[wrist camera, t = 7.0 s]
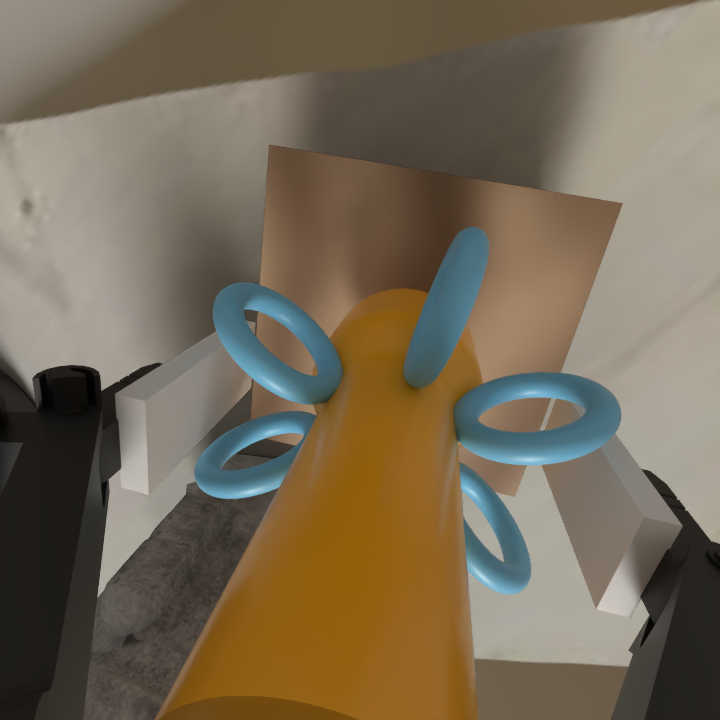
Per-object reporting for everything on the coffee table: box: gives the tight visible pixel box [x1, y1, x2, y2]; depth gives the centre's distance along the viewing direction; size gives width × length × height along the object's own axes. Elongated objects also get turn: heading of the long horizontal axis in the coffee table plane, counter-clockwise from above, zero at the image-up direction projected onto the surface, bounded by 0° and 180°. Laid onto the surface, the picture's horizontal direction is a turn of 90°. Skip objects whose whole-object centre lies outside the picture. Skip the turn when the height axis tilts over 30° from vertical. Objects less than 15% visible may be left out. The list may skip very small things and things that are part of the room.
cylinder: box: [154, 227, 621, 720], centre depth 12 cm, size 12×10×15 cm
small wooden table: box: [250, 145, 623, 497], centre depth 25 cm, size 15×15×8 cm
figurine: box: [83, 454, 279, 720], centre depth 25 cm, size 10×14×25 cm
